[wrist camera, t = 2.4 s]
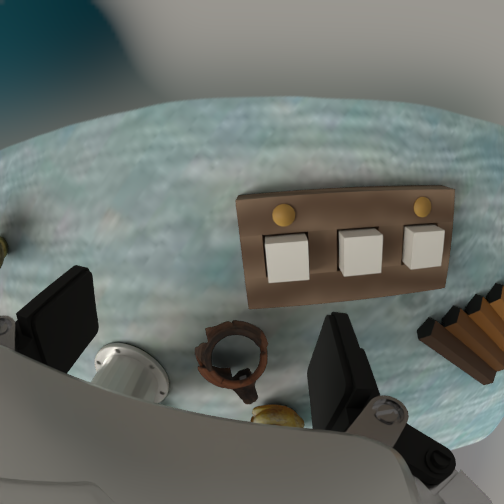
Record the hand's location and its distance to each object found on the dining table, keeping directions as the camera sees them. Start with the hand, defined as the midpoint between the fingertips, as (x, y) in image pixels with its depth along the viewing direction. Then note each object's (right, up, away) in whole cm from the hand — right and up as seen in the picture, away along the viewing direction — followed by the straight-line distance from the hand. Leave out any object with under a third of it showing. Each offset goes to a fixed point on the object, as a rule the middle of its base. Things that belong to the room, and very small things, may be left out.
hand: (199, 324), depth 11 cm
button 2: (+5, +3, +20) cm, 21 cm away
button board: (+13, +4, +22) cm, 26 cm away
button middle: (+13, +3, +19) cm, 24 cm away
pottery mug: (0, -10, +28) cm, 30 cm away
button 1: (+20, +4, +19) cm, 28 cm away
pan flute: (+42, -5, +24) cm, 49 cm away
